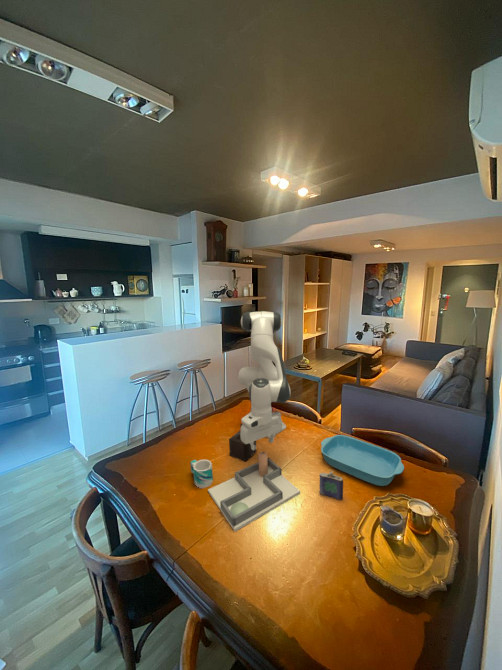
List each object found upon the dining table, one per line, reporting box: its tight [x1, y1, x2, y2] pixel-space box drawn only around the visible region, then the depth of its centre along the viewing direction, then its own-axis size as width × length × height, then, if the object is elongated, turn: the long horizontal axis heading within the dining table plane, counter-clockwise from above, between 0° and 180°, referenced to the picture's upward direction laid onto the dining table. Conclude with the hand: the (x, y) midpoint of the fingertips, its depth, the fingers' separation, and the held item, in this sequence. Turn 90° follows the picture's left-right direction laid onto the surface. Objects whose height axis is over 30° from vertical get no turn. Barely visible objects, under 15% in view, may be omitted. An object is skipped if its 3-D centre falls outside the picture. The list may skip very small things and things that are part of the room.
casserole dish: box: [320, 434, 405, 487], centre depth 127 cm, size 37×22×7 cm, turn 48°
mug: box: [189, 459, 214, 489], centre depth 122 cm, size 8×12×8 cm
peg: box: [257, 451, 268, 477], centre depth 122 cm, size 4×4×10 cm
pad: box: [230, 502, 248, 516], centre depth 104 cm, size 7×7×1 cm
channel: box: [207, 457, 301, 532], centre depth 113 cm, size 31×23×4 cm
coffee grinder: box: [228, 423, 257, 462], centre depth 141 cm, size 16×11×18 cm
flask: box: [318, 470, 344, 501], centre depth 110 cm, size 9×3×11 cm, turn 65°
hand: (262, 445), depth 120 cm, fingers open, 8 cm apart
